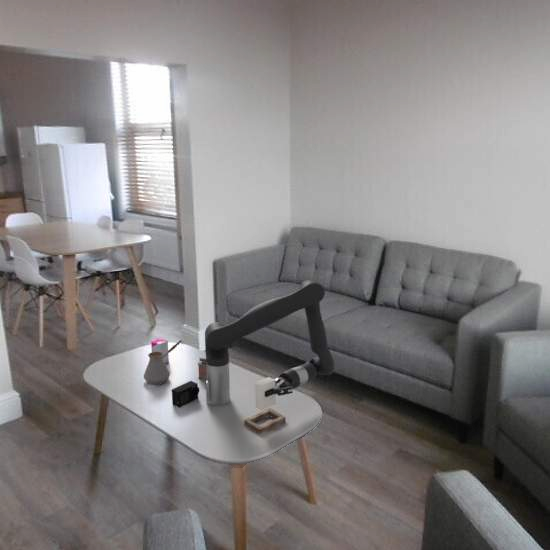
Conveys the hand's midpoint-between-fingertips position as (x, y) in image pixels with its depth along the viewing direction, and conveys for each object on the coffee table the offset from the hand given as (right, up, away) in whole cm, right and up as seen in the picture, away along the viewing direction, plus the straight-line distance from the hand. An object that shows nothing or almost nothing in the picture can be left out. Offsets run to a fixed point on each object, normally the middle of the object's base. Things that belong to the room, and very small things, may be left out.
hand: (261, 392), depth 196 cm
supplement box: (-50, +1, +57) cm, 76 cm away
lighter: (-26, -3, +41) cm, 49 cm away
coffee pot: (-45, -3, +43) cm, 62 cm away
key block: (+1, -5, +3) cm, 6 cm away
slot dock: (+1, -13, +5) cm, 14 cm away
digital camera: (-32, -9, +21) cm, 39 cm away
